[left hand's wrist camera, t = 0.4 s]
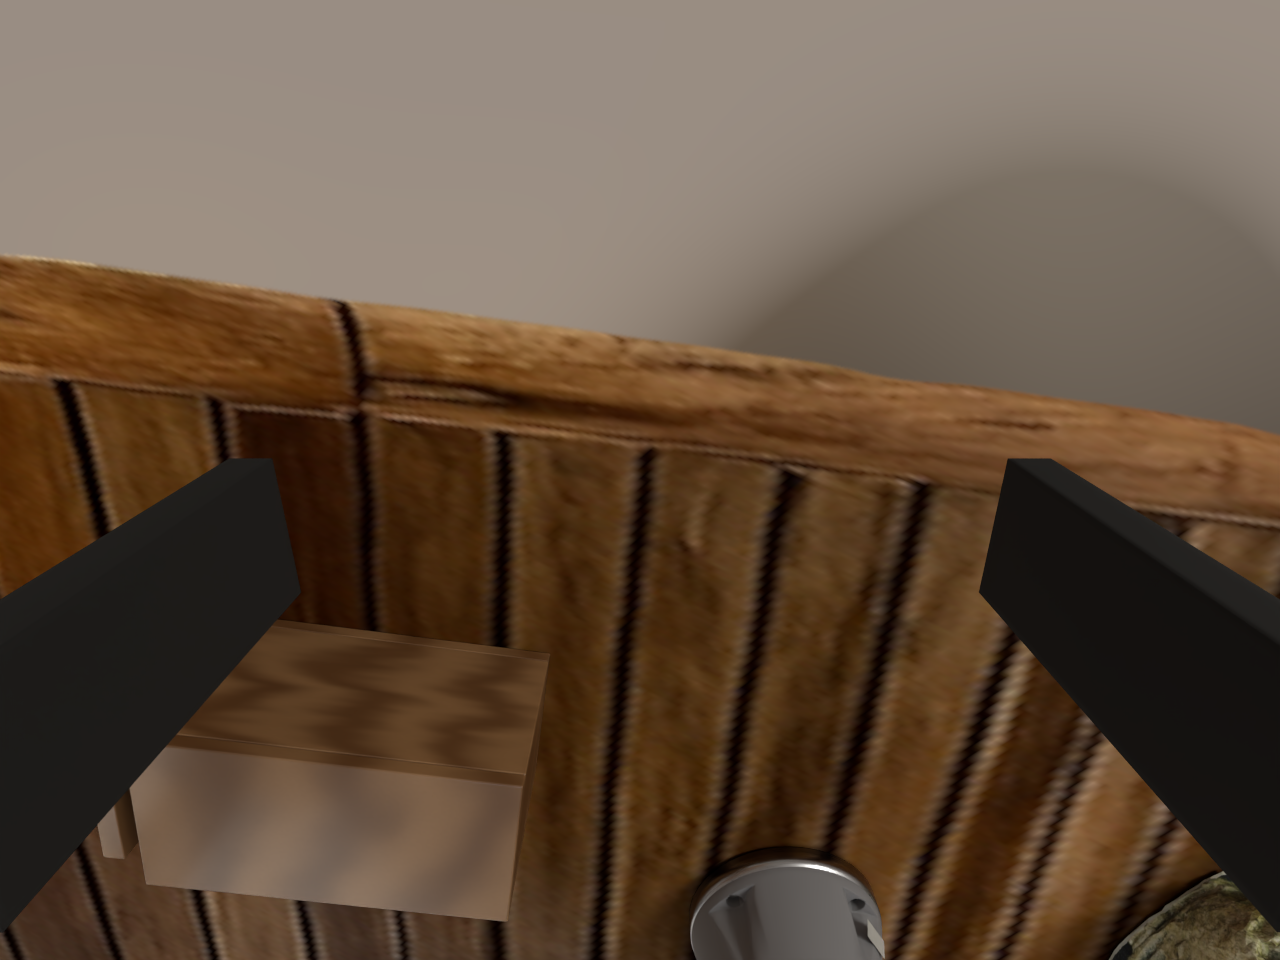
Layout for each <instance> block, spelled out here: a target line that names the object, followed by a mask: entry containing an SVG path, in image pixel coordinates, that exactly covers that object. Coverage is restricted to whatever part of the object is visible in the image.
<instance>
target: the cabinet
mask: <svg viewBox="0 0 1280 960" xmlns="http://www.w3.org/2000/svg"><path fill="white" fill-rule="evenodd" d="M549 658H550V654H549V653H541V652H533V651H525V650H517V649H509V648H502V647H494V646H486V645H478V644H470V643H462V642H454V641H446V640H438V639H430V638H422V637H414V636H406V635H398V634H390V633H382V632H374V631H366V630H358V629H350V628H342V627H334V626H326V625H318V624H310V623H302V622H294V621H286V620H278V619H277V620H276V621H275V623H274V624H273V625H272V626H271V627H270V628H269V629H268V631H267V632H266V633H265V634H264V635H263V636H262V637H261V639H260V640H259V641H258V642H257V643H256V644H255V645H254V647H253V648H252V649H251V650H250V651H249V652H248V653H247V655H246V656H245V657H244V658H243V659H242V660H241V661H240V663H239V664H238V665H237V666H236V667H235V668H234V669H233V671H232V672H231V673H230V674H229V675H228V676H227V677H226V678H225V680H224V681H223V682H222V683H221V684H220V685H219V686H218V688H217V689H216V690H215V691H214V692H213V693H212V694H211V696H210V697H209V698H208V699H207V700H206V701H205V702H204V704H203V705H202V706H201V707H200V708H199V709H198V710H197V712H196V713H195V714H194V715H193V716H192V717H191V718H190V720H189V721H188V722H187V723H186V724H185V725H184V726H183V728H182V729H181V730H180V731H179V732H178V733H177V734H176V736H175V737H174V738H173V739H172V740H171V741H170V742H169V744H168V745H167V746H166V747H165V748H164V749H163V750H162V752H161V753H160V754H159V755H158V756H157V757H156V758H155V760H154V761H153V762H152V763H151V764H150V765H149V766H148V768H147V769H146V770H145V771H144V772H143V773H142V774H141V775H140V777H139V778H138V779H137V780H136V781H135V782H134V783H133V785H132V786H131V787H130V794H131V800H132V806H133V811H134V817H135V823H136V829H137V834H138V840H139V846H140V852H141V857H142V863H143V869H144V875H145V881H146V884H147V885H157V886H167V887H176V888H186V889H196V890H205V891H215V892H225V893H234V894H244V895H254V896H264V897H273V898H283V899H293V900H302V901H312V902H322V903H332V904H341V905H351V906H361V907H370V908H380V909H390V910H399V911H409V912H419V913H429V914H438V915H448V916H458V917H467V918H477V919H487V920H497V921H508V917H509V912H510V906H511V901H512V896H513V890H514V885H515V879H516V874H517V869H518V863H519V858H520V852H521V847H522V842H523V836H524V831H525V825H526V820H527V815H528V809H529V804H530V798H531V793H532V788H533V782H534V777H535V771H536V764H537V755H538V747H539V739H540V731H541V723H542V715H543V707H544V698H545V690H546V682H547V674H548V666H549Z"/></svg>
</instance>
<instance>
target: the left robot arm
mask: <svg viewBox="0 0 1280 960" xmlns="http://www.w3.org/2000/svg"><path fill="white" fill-rule="evenodd" d="M300 593H301V590H300V585H299V581H298V576H297V572H296V567H295V562H294V558H293V553H292V548H291V544H290V539H289V534H288V530H287V525H286V521H285V516H284V511H283V507H282V502H281V497H280V493H279V488H278V484H277V479H276V474H275V470H274V465H273V460H272V459H228V460H226V461H224V462H223V463H221V464H220V465H218V466H216V467H215V468H213V469H211V470H210V471H208V472H207V473H205V474H203V475H202V476H200V477H199V478H197V479H195V480H194V481H192V482H190V483H189V484H187V485H186V486H184V487H182V488H181V489H179V490H177V491H176V492H174V493H173V494H171V495H169V496H168V497H166V498H164V499H163V500H161V501H160V502H158V503H156V504H155V505H153V506H151V507H150V508H148V509H147V510H145V511H143V512H142V513H140V514H138V515H137V516H135V517H134V518H132V519H130V520H129V521H127V522H125V523H124V524H122V525H121V526H119V527H117V528H116V529H114V530H112V531H111V532H109V533H108V534H106V535H104V536H103V537H101V538H100V539H98V540H96V541H95V542H93V543H91V544H90V545H88V546H87V547H85V548H83V549H82V550H80V551H78V552H77V553H75V554H74V555H72V556H70V557H69V558H67V559H65V560H64V561H62V562H61V563H59V564H57V565H56V566H54V567H52V568H51V569H49V570H48V571H46V572H44V573H43V574H41V575H39V576H38V577H36V578H35V579H33V580H31V581H30V582H28V583H26V584H25V585H23V586H22V587H20V588H18V589H17V590H15V591H13V592H12V593H10V594H9V595H7V596H5V597H4V598H2V599H1V600H0V932H4V931H5V930H6V928H7V927H8V926H9V925H10V924H11V923H12V922H13V920H14V919H15V918H16V917H17V916H18V915H19V914H20V912H21V911H22V910H23V909H24V908H25V907H26V906H27V904H28V903H29V902H30V901H31V900H32V899H33V898H34V896H35V895H36V894H37V893H38V892H39V891H40V890H41V888H42V887H43V886H44V885H45V884H46V883H47V882H48V880H49V879H50V878H51V877H52V876H53V875H54V874H55V872H56V871H57V870H58V869H59V868H60V867H61V866H62V865H63V863H64V862H65V861H66V860H67V859H68V858H69V857H70V855H71V854H72V853H73V852H74V851H75V850H76V849H77V847H78V846H79V845H80V844H81V843H82V842H83V841H84V839H85V838H86V837H87V836H88V835H89V834H90V833H91V831H92V830H93V829H94V828H95V827H96V826H97V825H98V823H99V822H100V821H101V820H102V819H103V818H104V817H105V815H106V814H107V813H108V812H109V811H110V810H111V809H112V807H113V806H114V805H115V804H116V803H117V802H118V801H119V799H120V798H121V797H122V796H123V795H124V794H125V793H126V791H127V790H128V789H129V788H130V787H131V786H132V785H133V783H134V782H135V781H136V780H137V779H138V778H139V777H140V775H141V774H142V773H143V772H144V771H145V770H146V769H147V768H148V766H149V765H150V764H151V763H152V762H153V761H154V760H155V758H156V757H157V756H158V755H159V754H160V753H161V752H162V750H163V749H164V748H165V747H166V746H167V745H168V744H169V742H170V741H171V740H172V739H173V738H174V737H175V736H176V734H177V733H178V732H179V731H180V730H181V729H182V728H183V726H184V725H185V724H186V723H187V722H188V721H189V720H190V718H191V717H192V716H193V715H194V714H195V713H196V712H197V710H198V709H199V708H200V707H201V706H202V705H203V704H204V702H205V701H206V700H207V699H208V698H209V697H210V696H211V694H212V693H213V692H214V691H215V690H216V689H217V688H218V686H219V685H220V684H221V683H222V682H223V681H224V680H225V678H226V677H227V676H228V675H229V674H230V673H231V672H232V671H233V669H234V668H235V667H236V666H237V665H238V664H239V663H240V661H241V660H242V659H243V658H244V657H245V656H246V655H247V653H248V652H249V651H250V650H251V649H252V648H253V647H254V645H255V644H256V643H257V642H258V641H259V640H260V639H261V637H262V636H263V635H264V634H265V633H266V632H267V631H268V629H269V628H270V627H271V626H272V625H273V624H274V623H275V621H276V620H277V619H278V618H279V617H280V616H281V615H282V613H283V612H284V611H285V610H286V609H287V608H288V607H289V605H290V604H291V603H292V602H293V601H294V600H295V599H296V597H297V596H298V595H299V594H300ZM979 593H980V594H981V595H982V596H983V597H984V599H985V600H986V601H987V602H988V603H989V604H990V605H991V607H992V608H993V609H994V610H995V611H996V612H997V613H998V615H999V616H1000V617H1001V618H1002V619H1003V620H1004V621H1005V623H1006V624H1007V625H1008V626H1009V627H1010V628H1011V629H1012V631H1013V632H1014V633H1015V634H1016V635H1017V636H1018V637H1019V639H1020V640H1021V641H1022V642H1023V643H1024V644H1025V645H1026V647H1027V648H1028V649H1029V650H1030V651H1031V652H1032V653H1033V655H1034V656H1035V657H1036V658H1037V659H1038V660H1039V661H1040V663H1041V664H1042V665H1043V666H1044V667H1045V668H1046V669H1047V671H1048V672H1049V673H1050V674H1051V675H1052V676H1053V677H1054V678H1055V680H1056V681H1057V682H1058V683H1059V684H1060V685H1061V686H1062V688H1063V689H1064V690H1065V691H1066V692H1067V693H1068V694H1069V696H1070V697H1071V698H1072V699H1073V700H1074V701H1075V702H1076V704H1077V705H1078V706H1079V707H1080V708H1081V709H1082V710H1083V712H1084V713H1085V714H1086V715H1087V716H1088V717H1089V718H1090V720H1091V721H1092V722H1093V723H1094V724H1095V725H1096V726H1097V728H1098V729H1099V730H1100V731H1101V732H1102V733H1103V734H1104V736H1105V737H1106V738H1107V739H1108V740H1109V741H1110V742H1111V744H1112V745H1113V746H1114V747H1115V748H1116V749H1117V750H1118V752H1119V753H1120V754H1121V755H1122V756H1123V757H1124V758H1125V760H1126V761H1127V762H1128V763H1129V764H1130V765H1131V766H1132V768H1133V769H1134V770H1135V771H1136V772H1137V773H1138V774H1139V775H1140V777H1141V778H1142V779H1143V780H1144V781H1145V782H1146V783H1147V785H1148V786H1149V787H1150V788H1151V789H1152V790H1153V791H1154V793H1155V794H1156V795H1157V796H1158V797H1159V798H1160V799H1161V801H1162V802H1163V803H1164V804H1165V805H1166V806H1167V807H1168V809H1169V810H1170V811H1171V812H1172V813H1173V814H1174V815H1175V817H1176V818H1177V819H1178V820H1179V821H1180V822H1181V823H1182V825H1183V826H1184V827H1185V828H1186V829H1187V830H1188V831H1189V833H1190V834H1191V835H1192V836H1193V837H1194V838H1195V839H1196V841H1197V842H1198V843H1199V844H1200V845H1201V846H1202V847H1203V849H1204V850H1205V851H1206V852H1207V853H1208V854H1209V855H1210V857H1211V858H1212V859H1213V860H1214V861H1215V862H1216V863H1217V865H1218V866H1219V867H1220V868H1221V869H1222V870H1223V871H1224V872H1225V874H1226V875H1227V876H1228V877H1229V878H1230V879H1231V880H1232V882H1233V883H1234V884H1235V885H1236V886H1237V887H1238V888H1239V890H1240V891H1241V892H1242V893H1243V894H1244V895H1245V896H1246V898H1247V899H1248V900H1249V901H1250V902H1251V903H1252V904H1253V906H1254V907H1255V908H1256V909H1257V910H1258V911H1259V912H1260V914H1261V915H1262V916H1263V917H1264V918H1265V919H1266V920H1267V922H1268V923H1269V924H1270V925H1271V926H1272V927H1273V928H1274V930H1275V931H1276V932H1280V600H1279V599H1278V598H1276V597H1275V596H1273V595H1271V594H1270V593H1268V592H1267V591H1265V590H1263V589H1262V588H1260V587H1258V586H1257V585H1255V584H1254V583H1252V582H1250V581H1249V580H1247V579H1245V578H1244V577H1242V576H1241V575H1239V574H1237V573H1236V572H1234V571H1232V570H1231V569H1229V568H1228V567H1226V566H1224V565H1223V564H1221V563H1219V562H1218V561H1216V560H1215V559H1213V558H1211V557H1210V556H1208V555H1206V554H1205V553H1203V552H1202V551H1200V550H1198V549H1197V548H1195V547H1193V546H1192V545H1190V544H1189V543H1187V542H1185V541H1184V540H1182V539H1180V538H1179V537H1177V536H1176V535H1174V534H1172V533H1171V532H1169V531H1168V530H1166V529H1164V528H1163V527H1161V526H1159V525H1158V524H1156V523H1155V522H1153V521H1151V520H1150V519H1148V518H1146V517H1145V516H1143V515H1142V514H1140V513H1138V512H1137V511H1135V510H1133V509H1132V508H1130V507H1129V506H1127V505H1125V504H1124V503H1122V502H1120V501H1119V500H1117V499H1116V498H1114V497H1112V496H1111V495H1109V494H1107V493H1106V492H1104V491H1103V490H1101V489H1099V488H1098V487H1096V486H1094V485H1093V484H1091V483H1090V482H1088V481H1086V480H1085V479H1083V478H1081V477H1080V476H1078V475H1077V474H1075V473H1073V472H1072V471H1070V470H1069V469H1067V468H1065V467H1064V466H1062V465H1060V464H1059V463H1057V462H1056V461H1054V460H1052V459H1008V460H1007V465H1006V470H1005V474H1004V479H1003V484H1002V488H1001V493H1000V497H999V502H998V507H997V511H996V516H995V521H994V525H993V530H992V534H991V539H990V544H989V548H988V553H987V558H986V562H985V567H984V572H983V576H982V581H981V585H980V590H979ZM689 921H690V935H691V944H692V948H693V951H694V954H695V957H696V959H697V960H882V956H883V957H884V941H883V939H882V923H881V916H880V912H879V909H878V906H877V903H876V900H875V897H874V894H873V891H872V889H871V886H870V885H869V883H868V881H867V880H866V878H865V877H864V876H863V875H862V874H861V873H860V872H859V871H858V870H857V869H856V868H855V867H854V866H852V865H851V864H850V863H848V862H846V861H845V860H843V859H841V858H839V857H837V856H834V855H832V854H829V853H826V852H823V851H819V850H814V849H808V848H799V847H779V848H770V849H764V850H759V851H755V852H752V853H748V854H745V855H743V856H740V857H737V858H735V859H733V860H731V861H729V862H727V863H726V864H724V865H722V866H721V867H719V868H718V869H716V870H715V871H714V872H713V873H711V874H710V875H709V876H708V877H707V878H706V879H705V880H704V881H703V882H702V884H701V885H700V886H699V888H698V889H697V891H696V892H695V895H694V897H693V899H692V902H691V905H690V911H689ZM884 959H885V957H884Z"/></svg>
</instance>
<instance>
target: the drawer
mask: <svg viewBox="0 0 1280 960" xmlns="http://www.w3.org/2000/svg"><path fill="white" fill-rule="evenodd" d="M97 826H98V831H99V836H100V841H101V846H102V851H103V856H104V857H108V858H117V859H125V858H126V857H127V855H128V854H129V853H130V852H131V850H132V849H133V848H134V847H135V845H136V844H137V843H138V841H139V840H138V834H137V829H136V823H135V817H134V811H133V806H132V800H131V794H130V788H129V789H128V790H127V791H126V793H125V794H124V795H123V796H122V797H121V798H120V799H119V801H118V802H117V803H116V804H115V805H114V806H113V807H112V809H111V810H110V811H109V812H108V813H107V814H106V815H105V817H104V818H103V819H102V820H101V821H100V822H99V823H98V825H97Z"/></svg>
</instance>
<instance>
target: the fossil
mask: <svg viewBox="0 0 1280 960" xmlns="http://www.w3.org/2000/svg"><path fill="white" fill-rule="evenodd" d="M1109 960H1280V932H1276V931H1275V930H1274V928H1273V927H1272V926H1271V925H1270V924H1269V923H1268V922H1267V920H1266V919H1265V918H1264V917H1263V916H1262V915H1261V914H1260V912H1259V911H1258V910H1257V909H1256V908H1255V907H1254V906H1253V904H1252V903H1251V902H1250V901H1249V900H1248V899H1247V898H1246V896H1245V895H1244V894H1243V893H1242V892H1241V891H1240V890H1239V888H1238V887H1237V886H1236V885H1235V884H1234V883H1233V882H1232V880H1231V879H1230V878H1229V877H1228V876H1227V875H1226V874H1225V872H1224V871H1222V872H1220V873H1218V874H1216V875H1214V876H1211V877H1209V878H1207V879H1205V880H1203V881H1202V882H1201V883H1199V884H1198V885H1197V886H1195V887H1193V888H1192V889H1190V890H1188V891H1187V892H1185V893H1184V894H1182V895H1181V896H1180V897H1178V898H1177V899H1175V900H1174V901H1172V902H1171V903H1169V904H1167V905H1165V907H1164V908H1163V910H1162V911H1161V912H1159V913H1157V914H1155V915H1153V916H1151V917H1150V918H1148V919H1147V920H1146V921H1145V922H1143V923H1142V924H1141V925H1140V926H1139V927H1138V928H1136V929H1135V930H1134V931H1133V932H1132V933H1131V934H1130V935H1128V936H1127V937H1126V938H1125V939H1124V940H1123V941H1122V942H1121V943H1120V944H1119V945H1118V947H1117V948H1116V949H1115V950H1114V952H1113V954H1112V955H1111V957H1110V959H1109Z"/></svg>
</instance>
